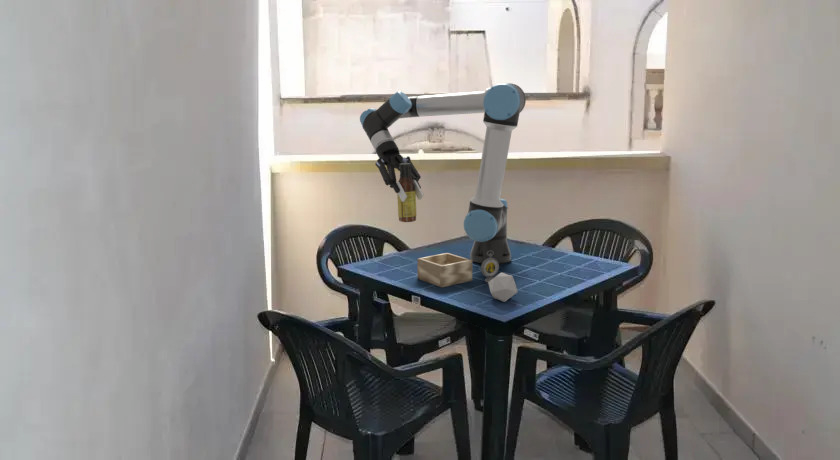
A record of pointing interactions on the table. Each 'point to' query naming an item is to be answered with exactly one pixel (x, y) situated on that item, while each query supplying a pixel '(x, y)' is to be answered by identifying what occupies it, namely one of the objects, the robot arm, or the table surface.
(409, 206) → the sauce bottle
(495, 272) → the pocket watch
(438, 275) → the crate
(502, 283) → the die
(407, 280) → the table surface
